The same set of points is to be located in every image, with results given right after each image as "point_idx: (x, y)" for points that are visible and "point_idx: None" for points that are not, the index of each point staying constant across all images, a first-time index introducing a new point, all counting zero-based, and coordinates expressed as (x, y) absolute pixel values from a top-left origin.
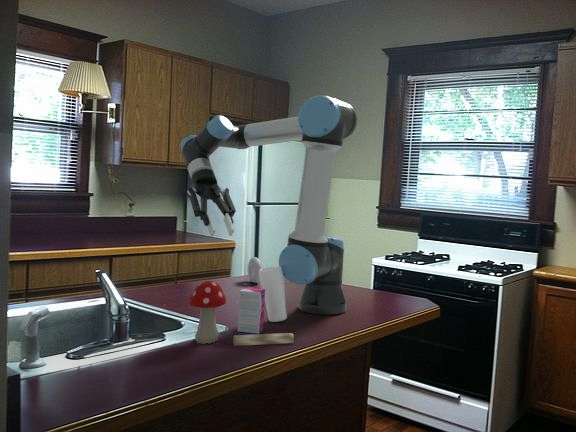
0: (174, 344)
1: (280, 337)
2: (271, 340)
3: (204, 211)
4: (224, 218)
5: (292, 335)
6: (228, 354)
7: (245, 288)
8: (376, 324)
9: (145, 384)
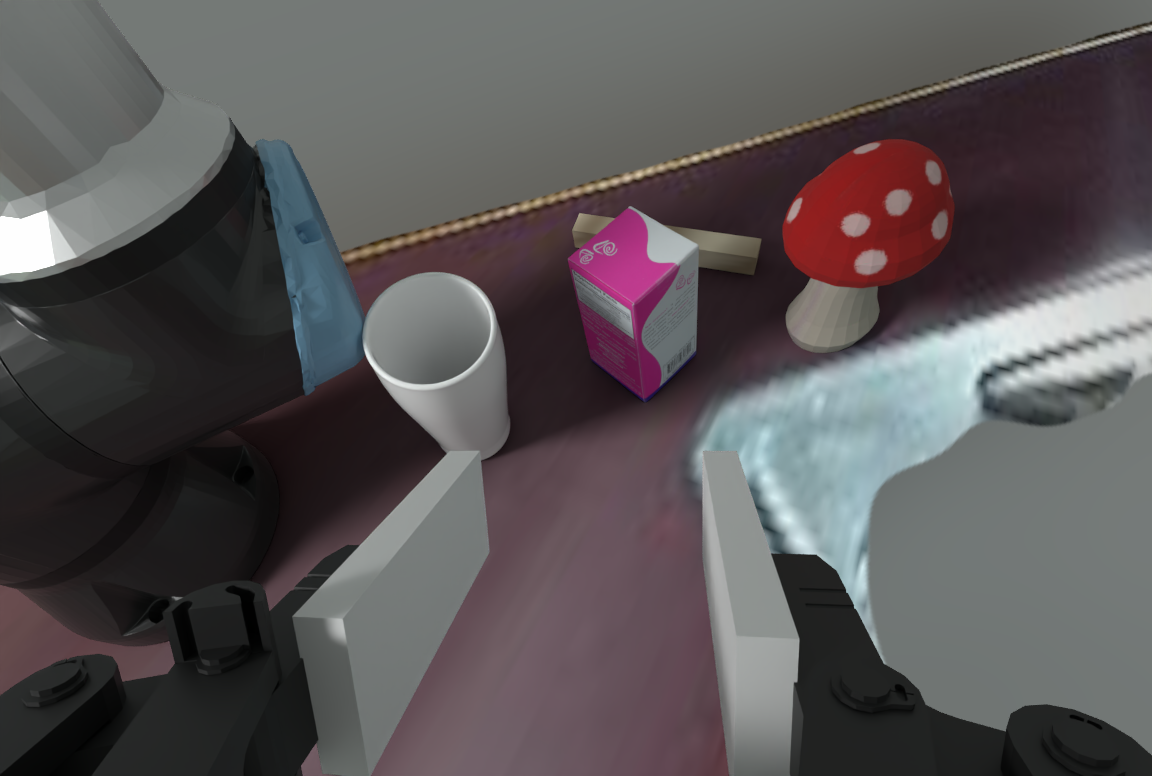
0: (951, 321)
1: None
2: None
3: (887, 688)
4: (375, 713)
5: (584, 214)
6: None
7: (652, 275)
8: None
9: (1060, 107)
